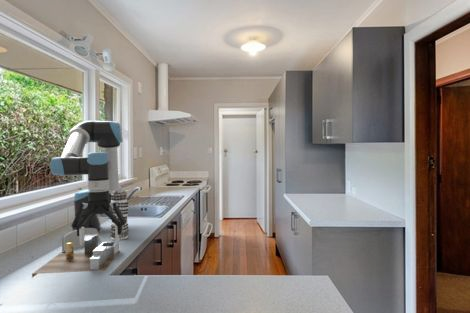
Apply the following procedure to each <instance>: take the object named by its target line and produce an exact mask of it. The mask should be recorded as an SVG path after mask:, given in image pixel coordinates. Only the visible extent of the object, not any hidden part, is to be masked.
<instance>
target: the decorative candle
mask: <svg viewBox="0 0 470 313" xmlns="http://www.w3.org/2000/svg"><path fill="white" fill-rule="evenodd" d="M127 194H128V192H126V190H124V189H123V190H117V191H113V193H112V194H111V202H110V203H114V202H118V207H119V209H120V211H121V213H122V215H123V216H124V218H125V220H126V224H125V225H122V233H121V234H120V235H119V241H122V240H126V239H127V238H129V223H128V215H129V214H128V213H129V212H128V211H129V208H128V207H129V202H128V198H127V197H128V196H127ZM110 209H111V212H112V213H113V214H114V215H115V217H116V218H117V219H118V220H119V218H118V216H117V215H116V213H115V211H114V209H113V208H112V207H110ZM119 221H120V220H119ZM110 227H111V229H110V230H111V232H110V234H111V235H110V237H111V238H110V239H111V240H113V241H115V227H116V224H115V223H114V222H113V221H112V220H111V225H110Z"/></svg>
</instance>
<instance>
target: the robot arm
mask: <svg viewBox="0 0 470 313" xmlns="http://www.w3.org/2000/svg"><path fill="white" fill-rule="evenodd" d="M67 136H68V140H67V141H66V144H65V147H64V148H63V151H62V153H61V155H60V156H56V157H52V158H51V159H50V165H49V168H50V173H51V174H52V175H53V176H62V177H63V176H77V175H78V176H79V175H84V176H85V175H87V186H88V187H87V188H88V189H83V190H78V191H77V192H75V193H74V196H73V197H74V199H73V202H74V205H73V206H74V219H73V221H72V223H71V232H72V231H75V230H77V236H79V243H80V245H82V244H84V228H95V229H97V231H98V230H100V229H101V227H102V226H101V222H100V219H99V217H98V215H103V214H104V215H105V216H107V217H108V218H109V219H110V220H111V222H112V221H113V222H114V223H115V224H116V227H115V240H114V242H115V244H117V243H118V242H119V243H120V240H119V235H120V234H121V233H122V225H125V224H126V220H125V218H124V216H123V215H122V213H121V211H120V209H119V207H118V202H114V203H110V202H111V194H112V193H113V191H117V190H124V189H122V186H121V185H120V184H119V162H118V161H119V159H118V158H119V156H118V148H119V147H120V145H121V143H123V140H124V139H123V133H122V127H121V124H120V123H119V121H112V120H86V121H83V122H80V123H78V124H77V125H74V126H73V127H72V128H70V131H69V132H68V135H67ZM88 143H97V147H98V148H100V151H99V152H98V151H97V152H95V151H94V152H89V153H87V156H82V155H83V152H84V150H85V147H86V144H88ZM110 207H112V208H113V209H114V211H115V213H116V215H117V216H118V218H119V220H120V221H119V220H118V219H117V218H116V217H115V215H114V214H113V213H112V212H111V209H110Z"/></svg>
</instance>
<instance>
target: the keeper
mask: <svg viewBox="0 0 470 313" xmlns="http://www.w3.org/2000/svg"><path fill="white" fill-rule="evenodd" d="M98 234H99V233H98ZM98 234H95V235H85V236H84V247H83V248H84V252H85V254H93V250H94V249H95V248H97V247H98V246H99V243H98ZM79 244H80V243H79Z"/></svg>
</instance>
